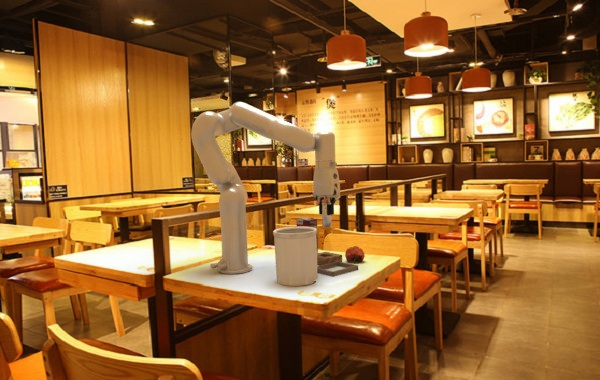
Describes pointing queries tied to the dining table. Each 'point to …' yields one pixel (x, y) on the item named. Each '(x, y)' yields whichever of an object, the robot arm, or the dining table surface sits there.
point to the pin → (325, 214)
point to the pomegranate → (354, 254)
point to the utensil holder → (296, 255)
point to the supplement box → (308, 224)
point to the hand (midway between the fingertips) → (326, 213)
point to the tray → (338, 272)
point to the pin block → (328, 258)
